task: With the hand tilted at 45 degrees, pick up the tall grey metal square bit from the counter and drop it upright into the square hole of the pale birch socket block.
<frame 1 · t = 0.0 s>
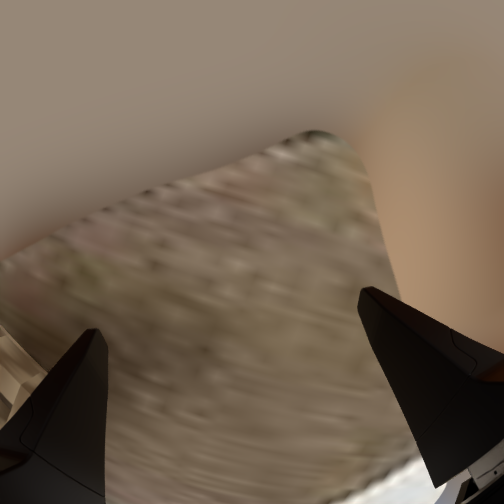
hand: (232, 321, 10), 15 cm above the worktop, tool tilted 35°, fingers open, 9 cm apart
socket block: (11, 387, 21), on the worktop
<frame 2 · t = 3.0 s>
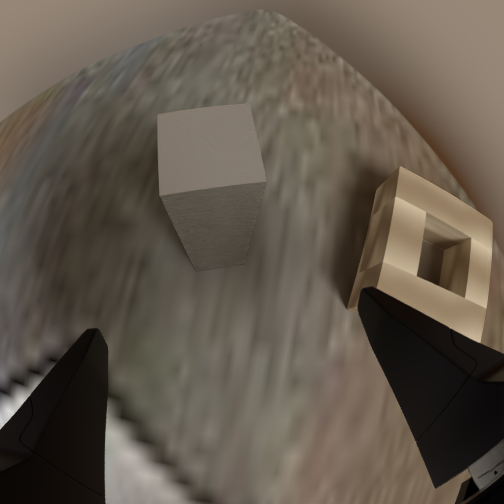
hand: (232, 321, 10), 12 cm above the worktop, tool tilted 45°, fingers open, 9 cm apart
socket block: (416, 267, 24), on the worktop
square bit: (216, 244, 23), on the worktop
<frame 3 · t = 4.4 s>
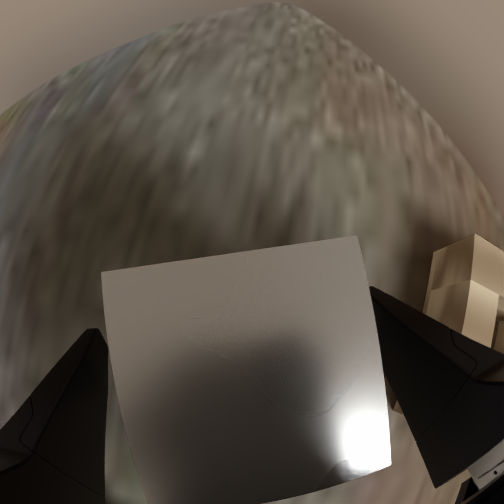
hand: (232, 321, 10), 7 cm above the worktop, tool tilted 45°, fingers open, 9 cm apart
socket block: (469, 347, 17), on the worktop
square bit: (232, 343, 16), on the worktop
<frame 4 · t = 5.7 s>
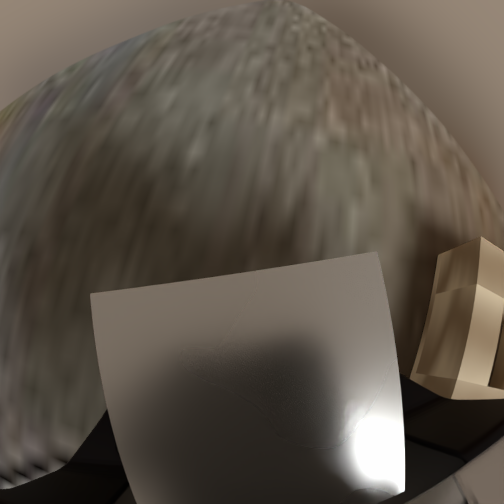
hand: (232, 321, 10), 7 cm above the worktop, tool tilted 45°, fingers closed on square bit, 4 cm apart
socket block: (473, 350, 17), on the worktop
square bit: (233, 349, 16), on the worktop, touching gripper
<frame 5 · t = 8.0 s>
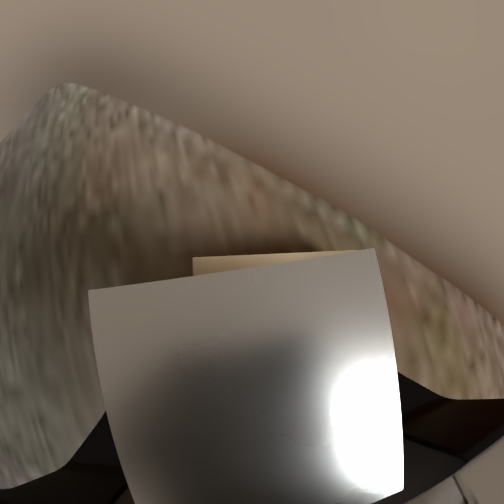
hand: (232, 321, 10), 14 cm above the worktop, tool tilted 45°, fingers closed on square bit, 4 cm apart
socket block: (274, 337, 23), on the worktop
square bit: (233, 348, 16), point 7 cm above the worktop, touching gripper
when the fingers open (8 cm above the worktop, at t = 10.2 s): square bit drops 1 cm, resting on socket block.
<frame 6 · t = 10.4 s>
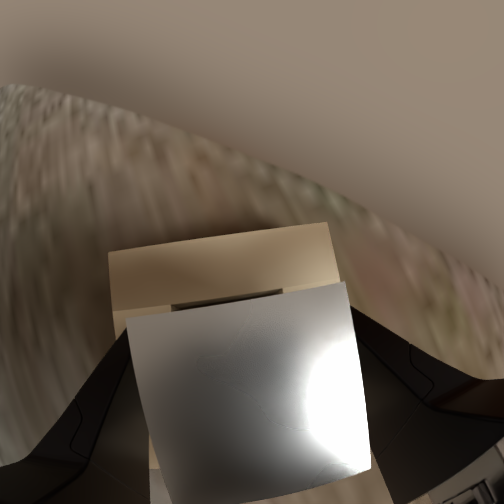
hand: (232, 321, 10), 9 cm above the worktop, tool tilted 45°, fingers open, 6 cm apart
socket block: (233, 346, 18), on the worktop
square bit: (233, 346, 17), point 1 cm above the worktop, touching socket block
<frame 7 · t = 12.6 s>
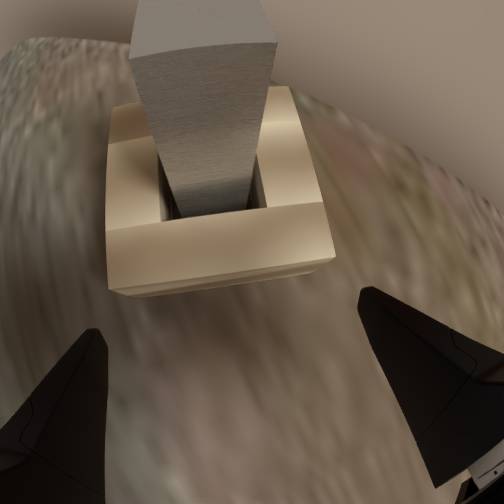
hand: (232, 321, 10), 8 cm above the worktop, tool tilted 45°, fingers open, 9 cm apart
socket block: (211, 201, 19), on the worktop
square bit: (210, 196, 19), point 1 cm above the worktop, touching socket block
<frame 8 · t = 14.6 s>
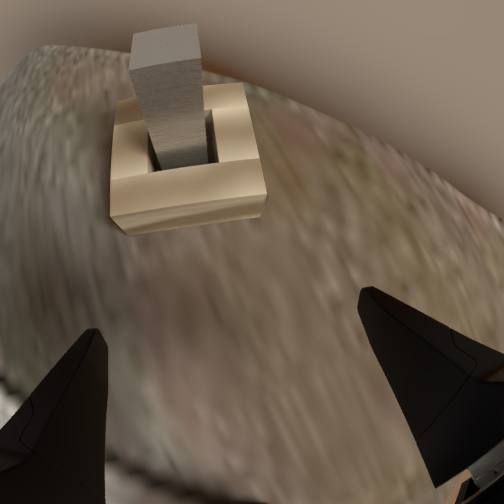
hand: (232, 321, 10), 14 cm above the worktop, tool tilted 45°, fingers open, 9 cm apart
socket block: (186, 167, 26), on the worktop
square bit: (186, 163, 25), point 1 cm above the worktop, touching socket block
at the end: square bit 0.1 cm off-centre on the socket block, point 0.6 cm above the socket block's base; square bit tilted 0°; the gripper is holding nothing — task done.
